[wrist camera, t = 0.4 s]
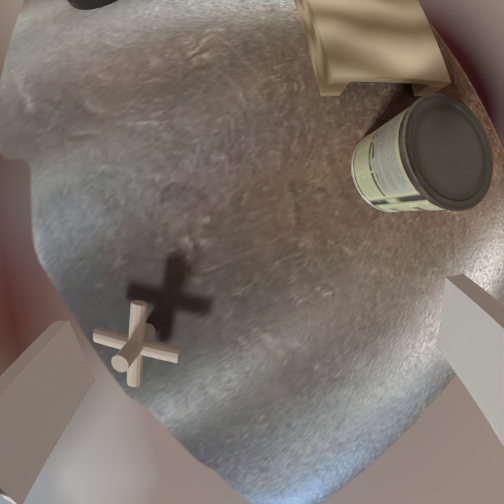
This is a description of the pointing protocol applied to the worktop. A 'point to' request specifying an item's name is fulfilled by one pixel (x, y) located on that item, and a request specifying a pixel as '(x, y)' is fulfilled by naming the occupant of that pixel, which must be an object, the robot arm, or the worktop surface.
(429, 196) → the coffee can
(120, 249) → the worktop surface
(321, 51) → the wooden block
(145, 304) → the pipe connector
